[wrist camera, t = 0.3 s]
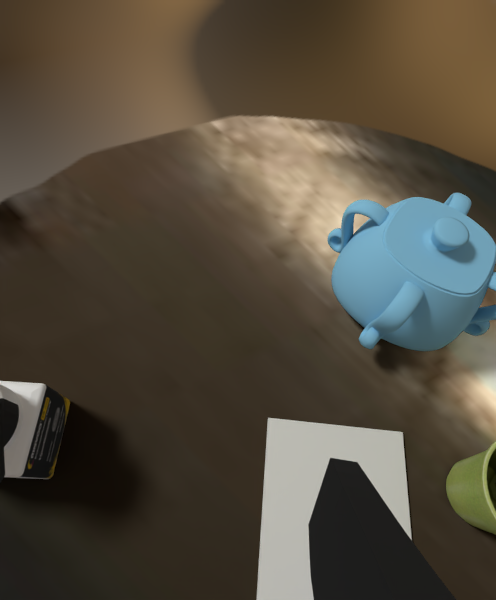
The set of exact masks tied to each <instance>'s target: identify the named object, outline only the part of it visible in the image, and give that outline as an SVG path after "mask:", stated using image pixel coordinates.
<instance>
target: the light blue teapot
mask: <svg viewBox="0 0 496 600" xmlns="http://www.w3.org/2000/svg"><path fill="white" fill-rule="evenodd" d="M470 206H471V200H470V199H469V198H468V197H467V196H465V195H463V194H460V193H454V194H452V195H451V196H450V197H449V198H448V199H447V200H446V202H445V203H444V204H443V203H440V202H437V201H434V200H431V199H427V198H421V197H413V198H409V199H406V200H402V201H400V202H398V203H395V204H393V205H391V206H389V207H387V208H384V207H383V206H381V205H380V204H378V203H376V202H373V201H370V200H358V201H355V202H353V203H352V204H350V205H349V206H348V207H347V209H346V210H345V212H344V214H343V218H342V226H341V229H340V228H338V229H334V230H333V231H331V232H330V234H329V236H328V244H329V245H330V247H331V248H332V249H333V250H334V251H336V252H339V253H340V254H339V256H338V259H337V261H336V263H335V266H334V268H333V271H332V287H333V291H334V293H335V295H336V297H337V299H338V301H339V302H340V304H341V305H342V306H343V308H344V309H345V310H346V311H347V312H348V313H349V315H350V316H351V317H353V318H354V319H355V320H356V321H357V322H358V323H359V324H360V325H361V326H363V327H364V328H365V329H364V330H363V331H362V333H361V335H360V337H359V341H360V343H361V344H362V346H363V347H365V348H368V349H373V348H374V346H375V345H376V344H377V342H378V341H379V340H380V339H383V340H386V341H388V342H390V343H392V344H395V345H398V346H400V347H404V348H407V349H411V350H416V351H433V350H438V349H440V348H443V347H444V346H446V345H447V344H449V343H450V342H452V341H453V340H454V339H455V338H456V337H458V336H459V334H460V333H461V332H462V331H464V332H466V333H468V334H471V335H475V336H478V335H482V334H484V333H485V332H486V331H487V330H488V329H489V326H490V323H489V320H495V319H496V305H492V306H486V307H481V308H479V307H480V305H481V303H482V301H483V299H484V296H485V294H486V291H487V289H488V288H490V289H492V290H494V291H496V272H493V270H494V265H495V261H496V245H495V243H494V241H493V239H492V238H491V236H490V235H489V234H488V233H487V232H486V231H485V230H484V229H483V228H482V227H481V226H480V225H479V224H477V223H476V222H475V221H473V220H472V219H471V218H469V217H468V216H466V215H467V213H468V211H469V209H470ZM355 214H362V215H365V216H367V217H369V218H370V219H369V220H368V221H367V222H366V223H364V224H363V225H362V226H361V227H360V228H359V229H358V230H357V231H356V232H355V233H354V235H353V222H354V215H355Z"/></svg>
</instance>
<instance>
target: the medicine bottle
mask: <svg viewBox="0 0 496 600" xmlns="http://www.w3.org/2000/svg"><path fill="white" fill-rule="evenodd" d="M0 402H1V407H2V425H3V442H4V459H5V476H4V477H11V478H33V479H50V478H51V477H52V476H53V473H54V469H55V465H56V461H57V457H58V452H59V448H60V444H61V440H62V436H63V431H64V427H65V423H66V419H67V414H68V410H69V406H70V401H69V400H68V399H67V398H65V397H64V396H62V395H61V394H59V393H58V392H56V391H54V390H53V389H51V388H50V387H48V386H47V385H45V384H41V383H25V382H9V381H0Z"/></svg>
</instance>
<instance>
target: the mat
mask: <svg viewBox="0 0 496 600" xmlns="http://www.w3.org/2000/svg"><path fill="white" fill-rule="evenodd" d="M330 458H335V459H341V460H347V461H353V462H358V464H359V465H360V467H361V468H362V470H363V471H364V472H365V474H366V475H367V477H368V478H369V480H370V481H371V483H372V484H373V486H374V487H375V489H376V490H377V491H378V493H379V494H380V496H381V497H382V499H383V500H384V502H385V503H386V505H387V506H388V508H389V509H390V510H391V512H392V513H393V515H394V516H395V518H396V519H397V521H398V522H399V523H400V525H401V526H402V528H403V529H404V531H405V532H406V533H407V535H408V536H409V538H410V539H411V540H412V537H411V525H410V514H409V502H408V490H407V478H406V466H405V454H404V442H403V432H395V431H386V430H376V429H367V428H358V427H348V426H339V425H330V424H321V423H311V422H302V421H293V420H283V419H274V418H268V425H267V441H266V457H265V473H264V489H263V505H262V521H261V537H260V553H259V569H258V585H257V600H314V597H313V590H312V583H311V573H310V554H309V527H308V524H309V521H310V518H311V515H312V512H313V509H314V506H315V503H316V500H317V497H318V494H319V491H320V487H321V484H322V481H323V478H324V475H325V472H326V469H327V466H328V463H329V460H330Z"/></svg>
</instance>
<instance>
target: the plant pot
mask: <svg viewBox="0 0 496 600" xmlns="http://www.w3.org/2000/svg"><path fill="white" fill-rule="evenodd" d="M495 483H496V441H495V442H494V443H493V444H492V445H491V446H490V447H489V449H488V450H487V451H484V452H482V453H479V454H477V455H474V456H472V457H469V458H466V459H464V460H461V461H459V462H457V463H456V464H454V465H453V467H452V469H451V471H450V473H449V475H448V477H447V480H446V491H447V495H448V499H449V501H450V503H451V505H452V507H453V509H454V510H455V512H456V513H457V514H458V515H459V516H460V517H461V518H462V519H464V520H465V521H466V522H467V523H469V524H470V525H472V526H474V527H477V528H480V529H482V530H485V531H487V532H490V533H493V534H495V535H496V487H495V486H496V485H495Z"/></svg>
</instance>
